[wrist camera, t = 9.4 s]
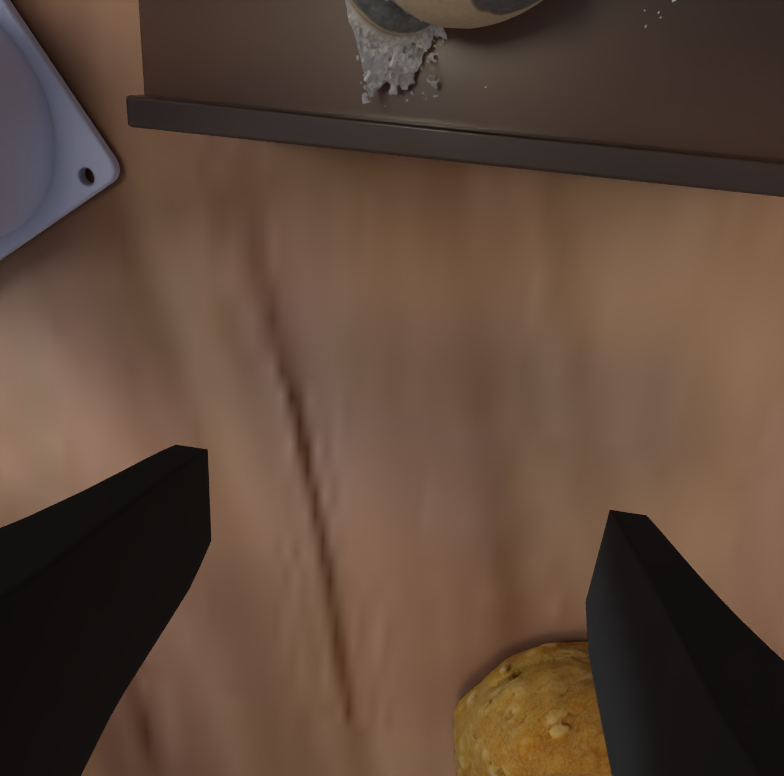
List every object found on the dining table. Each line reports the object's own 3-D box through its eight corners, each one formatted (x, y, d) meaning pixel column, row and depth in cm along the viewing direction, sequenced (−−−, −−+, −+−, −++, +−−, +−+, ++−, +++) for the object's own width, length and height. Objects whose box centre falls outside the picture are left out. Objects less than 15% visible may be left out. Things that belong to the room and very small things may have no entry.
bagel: (395, 700, 29) (375, 810, 24) (618, 576, 24) (642, 684, 20) (543, 834, 31) (550, 957, 27) (772, 742, 27) (824, 870, 22)
